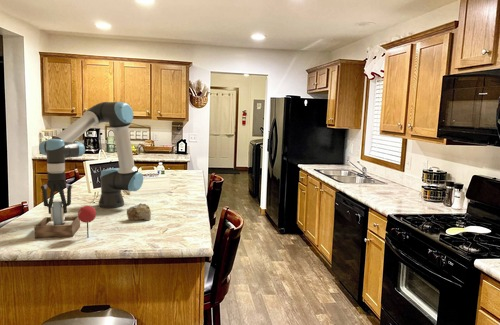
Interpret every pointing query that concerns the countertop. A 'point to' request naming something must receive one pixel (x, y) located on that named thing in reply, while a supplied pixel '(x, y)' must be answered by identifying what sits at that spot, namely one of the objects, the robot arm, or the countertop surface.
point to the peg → (57, 213)
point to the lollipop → (87, 215)
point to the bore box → (57, 228)
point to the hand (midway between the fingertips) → (58, 220)
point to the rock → (139, 212)
